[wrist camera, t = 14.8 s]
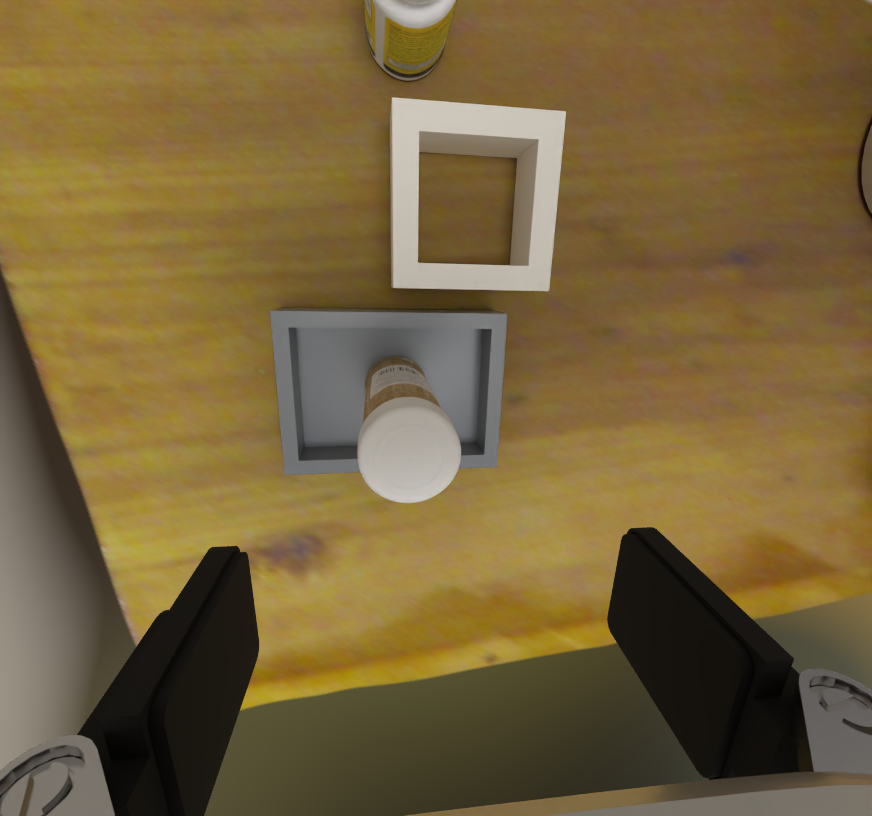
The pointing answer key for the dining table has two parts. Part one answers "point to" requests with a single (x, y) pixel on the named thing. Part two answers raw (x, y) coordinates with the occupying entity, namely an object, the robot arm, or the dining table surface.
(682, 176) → the dining table surface
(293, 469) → the charcoal tray
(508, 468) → the dining table surface
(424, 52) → the supplement bottle
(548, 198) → the frame
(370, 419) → the sprinkles bottle
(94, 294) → the dining table surface
